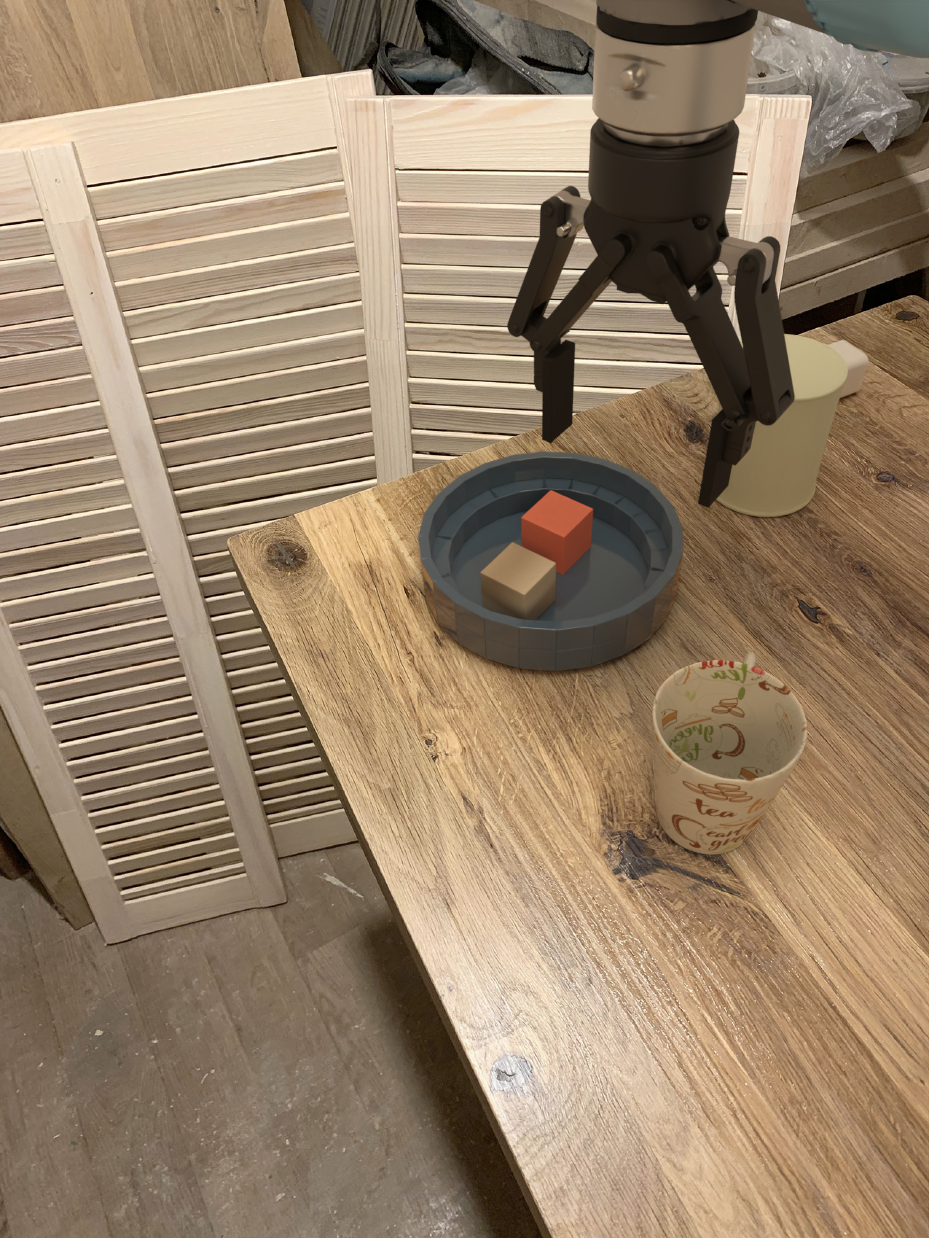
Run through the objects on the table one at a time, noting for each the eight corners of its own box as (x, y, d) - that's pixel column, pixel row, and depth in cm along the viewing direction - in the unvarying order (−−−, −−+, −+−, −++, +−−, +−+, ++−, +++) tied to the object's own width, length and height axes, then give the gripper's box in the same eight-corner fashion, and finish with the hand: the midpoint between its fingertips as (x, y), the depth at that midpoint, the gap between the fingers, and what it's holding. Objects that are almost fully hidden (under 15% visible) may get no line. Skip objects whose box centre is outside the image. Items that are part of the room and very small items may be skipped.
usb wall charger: (858, 394, 87) (870, 357, 84) (800, 416, 85) (809, 379, 83) (829, 374, 90) (839, 337, 87) (772, 395, 88) (780, 358, 85)
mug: (622, 848, 57) (635, 755, 49) (669, 695, 65) (687, 595, 57) (760, 891, 54) (796, 801, 47) (792, 727, 62) (827, 627, 55)
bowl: (721, 558, 73) (731, 510, 70) (584, 719, 64) (588, 673, 60) (520, 470, 82) (520, 424, 79) (373, 600, 72) (365, 554, 69)
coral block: (591, 546, 74) (593, 508, 71) (562, 575, 72) (564, 537, 69) (549, 527, 76) (550, 489, 73) (521, 555, 74) (520, 517, 71)
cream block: (555, 600, 70) (556, 562, 68) (524, 632, 68) (524, 594, 66) (513, 579, 72) (512, 541, 69) (482, 609, 70) (479, 572, 67)
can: (685, 494, 79) (705, 371, 70) (730, 438, 84) (754, 316, 75) (790, 532, 75) (824, 406, 66) (831, 470, 80) (868, 346, 71)
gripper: (437, 101, 50) (460, 430, 66) (866, 197, 40) (770, 563, 56) (518, 60, 54) (521, 381, 70) (929, 138, 44) (823, 496, 60)
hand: (631, 462), depth 63 cm, fingers open, 11 cm apart
